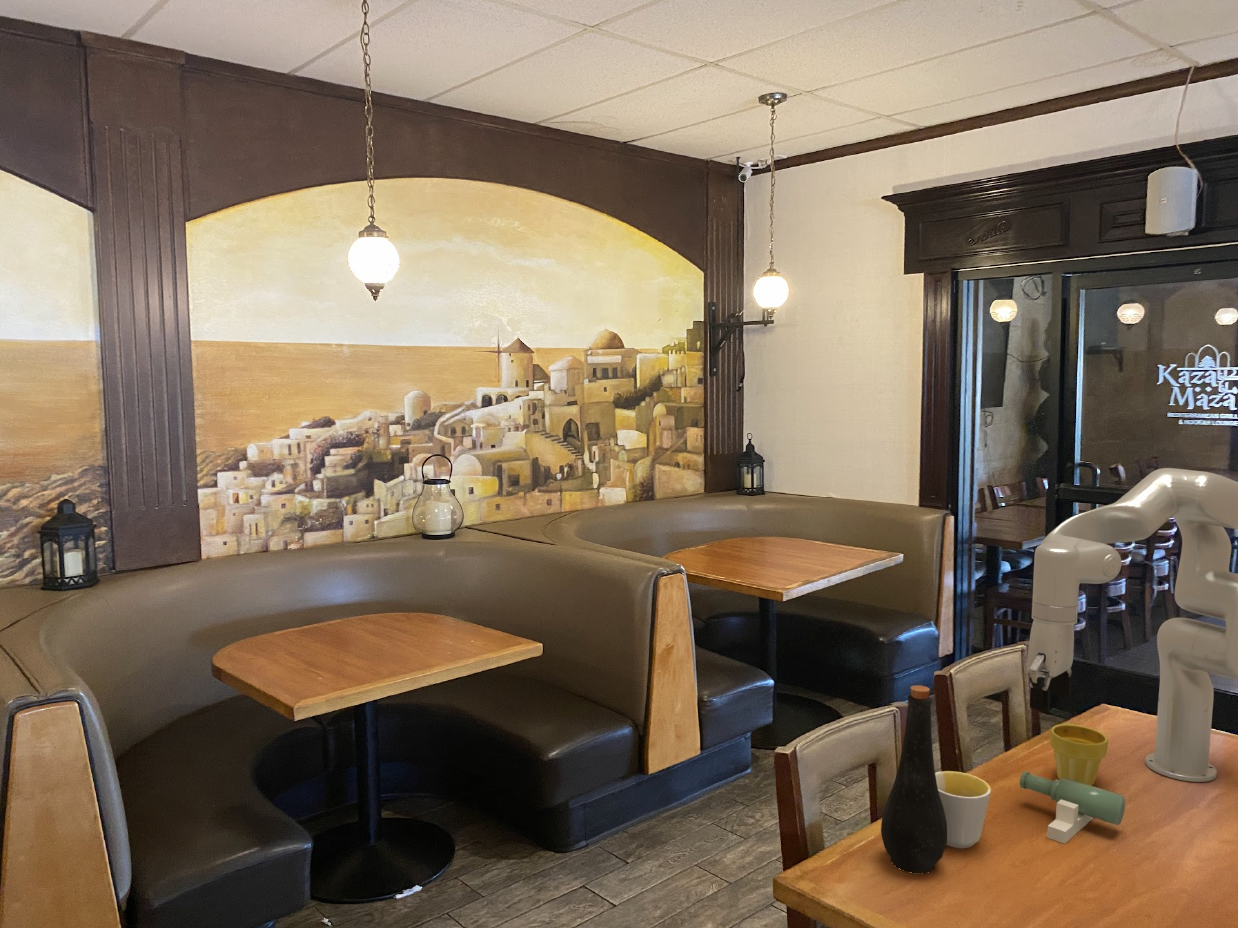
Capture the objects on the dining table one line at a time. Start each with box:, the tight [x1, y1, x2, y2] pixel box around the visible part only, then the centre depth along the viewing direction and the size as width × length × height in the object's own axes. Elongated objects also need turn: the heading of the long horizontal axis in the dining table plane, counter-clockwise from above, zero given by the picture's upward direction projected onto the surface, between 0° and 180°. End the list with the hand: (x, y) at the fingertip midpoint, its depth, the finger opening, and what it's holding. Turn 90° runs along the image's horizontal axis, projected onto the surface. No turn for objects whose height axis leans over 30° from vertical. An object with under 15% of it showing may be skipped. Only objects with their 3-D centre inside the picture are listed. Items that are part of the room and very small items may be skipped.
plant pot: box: [1049, 723, 1109, 786], centre depth 188 cm, size 10×10×10 cm
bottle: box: [880, 684, 947, 875], centre depth 155 cm, size 11×11×30 cm
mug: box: [935, 770, 992, 849], centre depth 164 cm, size 14×10×10 cm
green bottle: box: [1019, 770, 1126, 826], centre depth 171 cm, size 5×5×17 cm
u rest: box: [1046, 799, 1094, 845], centre depth 170 cm, size 18×3×5 cm, turn 134°
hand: (1049, 702), depth 172 cm, fingers open, 9 cm apart
